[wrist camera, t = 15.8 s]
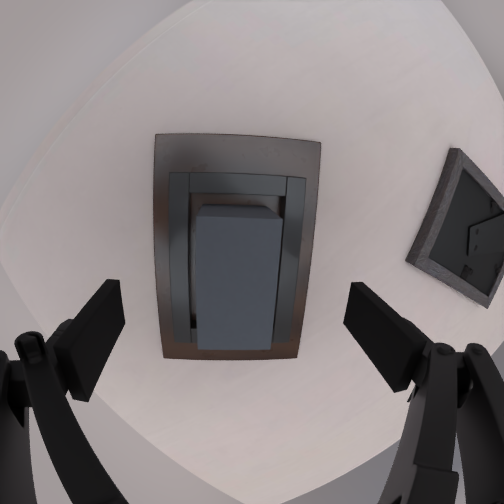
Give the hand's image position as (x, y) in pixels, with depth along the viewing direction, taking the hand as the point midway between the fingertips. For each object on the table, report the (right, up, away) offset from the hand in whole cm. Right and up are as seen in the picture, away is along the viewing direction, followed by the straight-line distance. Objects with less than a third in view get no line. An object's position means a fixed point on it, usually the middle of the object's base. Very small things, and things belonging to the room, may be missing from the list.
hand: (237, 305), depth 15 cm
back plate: (-1, +2, +9) cm, 9 cm away
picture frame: (+27, +5, +11) cm, 30 cm away
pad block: (-1, +2, +8) cm, 8 cm away
